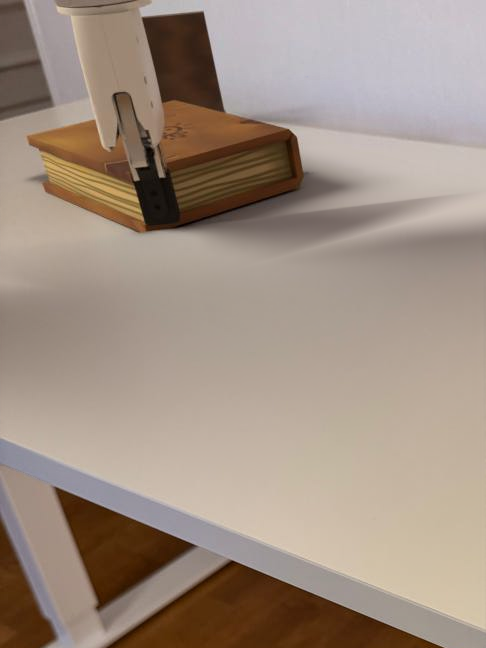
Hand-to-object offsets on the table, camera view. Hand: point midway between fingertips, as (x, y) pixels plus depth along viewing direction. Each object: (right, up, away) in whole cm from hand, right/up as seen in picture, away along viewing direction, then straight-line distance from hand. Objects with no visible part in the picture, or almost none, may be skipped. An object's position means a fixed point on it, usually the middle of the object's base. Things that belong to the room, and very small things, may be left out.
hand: (163, 221), depth 88 cm
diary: (-3, +9, +13) cm, 17 cm away
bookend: (-10, +28, +34) cm, 45 cm away
